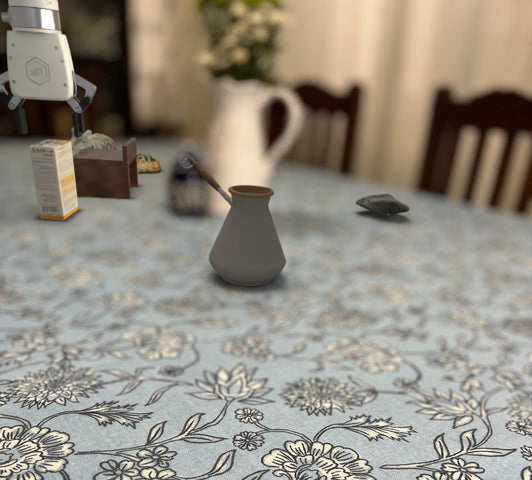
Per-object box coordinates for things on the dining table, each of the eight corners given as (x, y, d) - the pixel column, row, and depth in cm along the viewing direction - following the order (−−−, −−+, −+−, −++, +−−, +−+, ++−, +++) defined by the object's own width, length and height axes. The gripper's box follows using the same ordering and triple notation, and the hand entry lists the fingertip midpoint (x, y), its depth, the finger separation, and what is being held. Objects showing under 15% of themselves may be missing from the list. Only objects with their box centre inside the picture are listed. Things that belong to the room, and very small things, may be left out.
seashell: (390, 225, 111) (419, 214, 116) (389, 198, 108) (419, 188, 113) (350, 220, 120) (379, 210, 125) (349, 195, 117) (378, 186, 122)
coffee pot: (300, 281, 78) (311, 178, 71) (241, 297, 71) (247, 185, 64) (214, 243, 91) (216, 153, 84) (157, 254, 84) (154, 157, 77)
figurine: (70, 190, 132) (47, 129, 124) (116, 172, 140) (98, 113, 131) (90, 195, 127) (68, 131, 118) (137, 176, 135) (119, 114, 126)
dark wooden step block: (74, 195, 114) (68, 142, 109) (88, 182, 126) (83, 134, 121) (129, 198, 115) (126, 146, 110) (138, 185, 127) (136, 137, 122)
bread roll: (147, 164, 152) (147, 146, 149) (168, 176, 146) (169, 158, 143) (113, 167, 146) (112, 149, 143) (133, 181, 140) (133, 162, 137)
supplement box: (55, 208, 104) (46, 138, 98) (79, 210, 104) (72, 140, 98) (38, 219, 97) (27, 144, 90) (64, 221, 97) (55, 146, 90)
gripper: (-29, 17, 81) (-7, 135, 89) (85, 25, 83) (96, 140, 91) (-10, 20, 87) (8, 130, 96) (95, 28, 89) (104, 135, 97)
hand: (51, 135), depth 93 cm, fingers open, 9 cm apart
